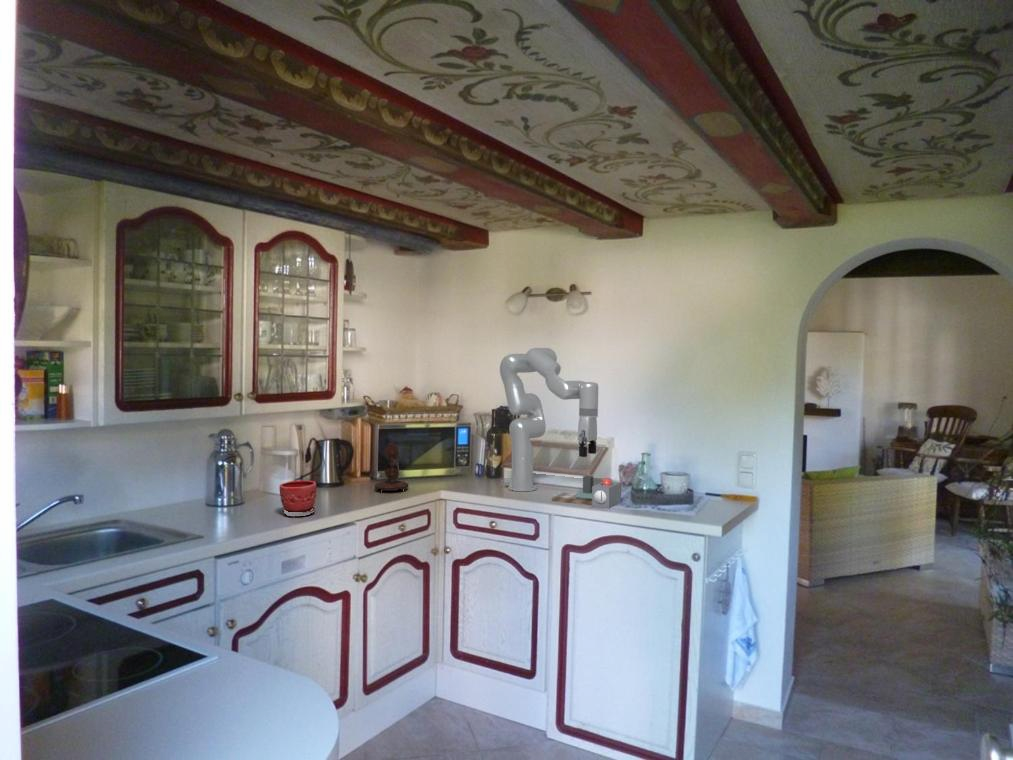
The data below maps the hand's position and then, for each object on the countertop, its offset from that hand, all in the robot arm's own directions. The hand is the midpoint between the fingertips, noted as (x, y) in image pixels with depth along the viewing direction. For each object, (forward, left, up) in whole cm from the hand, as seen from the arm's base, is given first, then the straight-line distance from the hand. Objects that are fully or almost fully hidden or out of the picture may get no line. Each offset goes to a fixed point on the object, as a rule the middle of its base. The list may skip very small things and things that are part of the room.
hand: (587, 455), depth 291 cm
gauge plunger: (+8, 0, -14) cm, 16 cm away
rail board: (-4, 0, -19) cm, 20 cm away
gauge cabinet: (+8, 0, -19) cm, 21 cm away
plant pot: (-86, -73, -19) cm, 114 cm away
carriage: (0, 0, -17) cm, 17 cm away
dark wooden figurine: (-85, -18, -19) cm, 89 cm away
